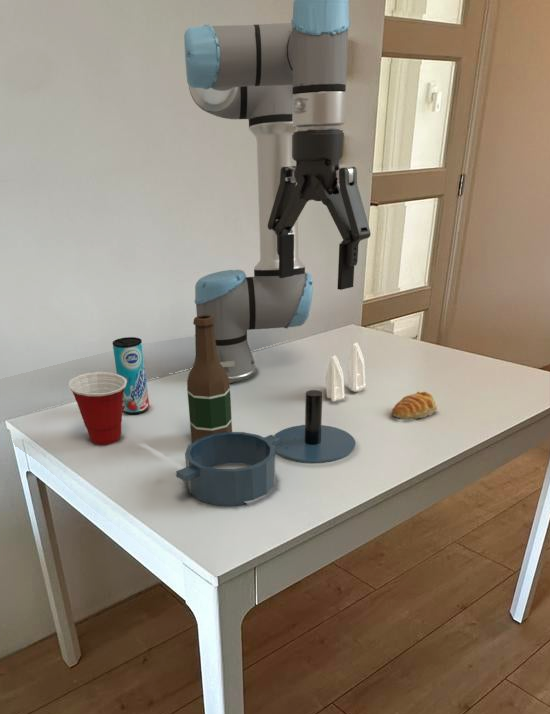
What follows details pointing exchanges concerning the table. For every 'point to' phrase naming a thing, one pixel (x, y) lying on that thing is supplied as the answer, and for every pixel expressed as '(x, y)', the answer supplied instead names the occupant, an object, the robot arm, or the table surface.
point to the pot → (230, 483)
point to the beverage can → (132, 374)
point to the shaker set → (354, 374)
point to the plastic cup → (100, 404)
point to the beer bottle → (208, 385)
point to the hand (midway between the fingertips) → (314, 282)
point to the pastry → (415, 406)
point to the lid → (314, 437)
